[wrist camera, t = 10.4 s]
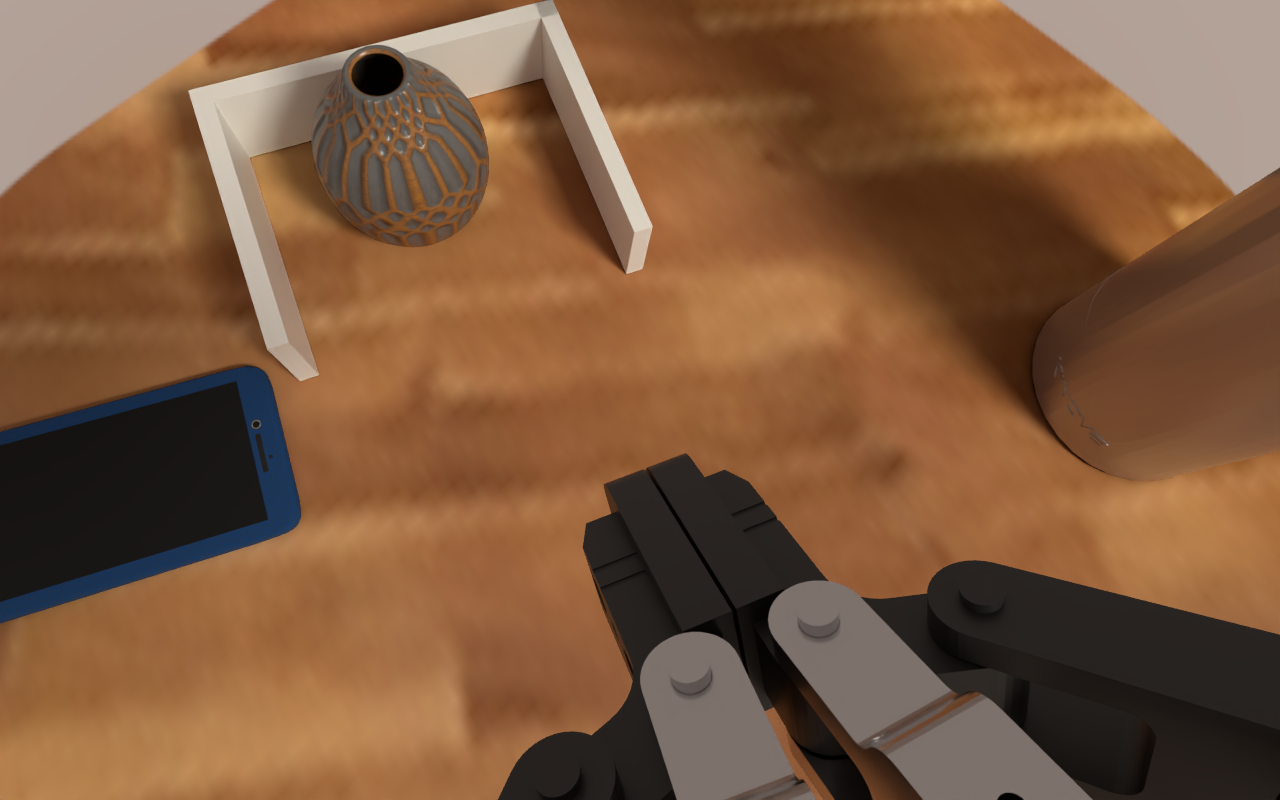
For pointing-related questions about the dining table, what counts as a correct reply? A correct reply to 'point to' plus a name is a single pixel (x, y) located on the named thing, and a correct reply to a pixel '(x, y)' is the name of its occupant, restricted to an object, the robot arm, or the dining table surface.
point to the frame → (478, 64)
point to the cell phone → (141, 488)
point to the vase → (399, 148)
